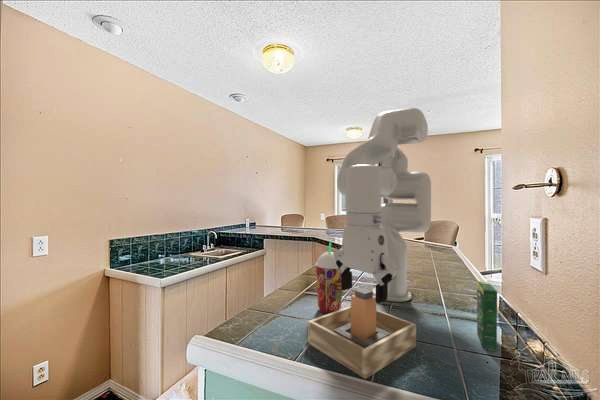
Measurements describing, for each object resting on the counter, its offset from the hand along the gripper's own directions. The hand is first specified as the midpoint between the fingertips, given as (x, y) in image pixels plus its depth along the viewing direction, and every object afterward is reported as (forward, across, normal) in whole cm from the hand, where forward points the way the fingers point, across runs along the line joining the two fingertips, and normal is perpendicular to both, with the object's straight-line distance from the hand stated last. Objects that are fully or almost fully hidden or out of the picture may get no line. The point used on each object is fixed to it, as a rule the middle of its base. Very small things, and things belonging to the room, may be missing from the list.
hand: (363, 295), depth 63 cm
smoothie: (+12, +18, -7) cm, 22 cm away
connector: (+10, 0, 0) cm, 10 cm away
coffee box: (+12, -18, -23) cm, 31 cm away
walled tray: (+11, 0, +1) cm, 11 cm away
